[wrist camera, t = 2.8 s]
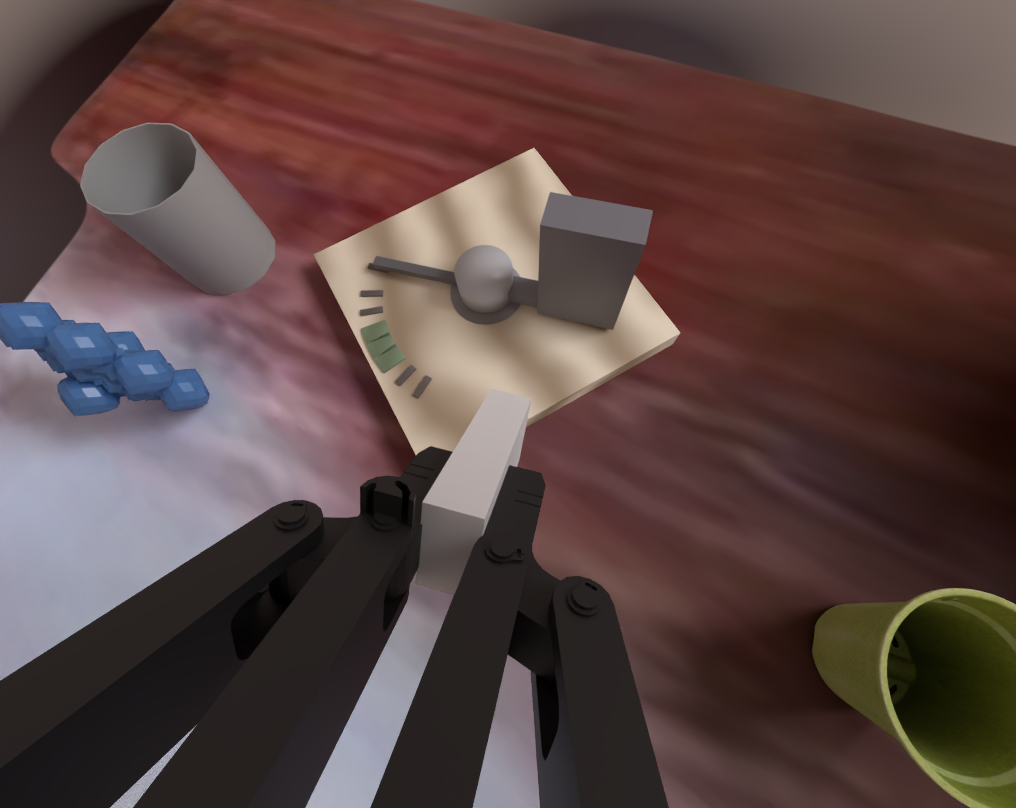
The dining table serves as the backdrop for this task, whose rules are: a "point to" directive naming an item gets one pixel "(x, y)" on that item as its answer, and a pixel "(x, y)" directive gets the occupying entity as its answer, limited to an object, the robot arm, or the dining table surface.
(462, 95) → the dining table surface
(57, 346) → the grapes
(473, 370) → the dial plate
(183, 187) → the cup
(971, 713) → the plant pot
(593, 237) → the lever dial gauge
